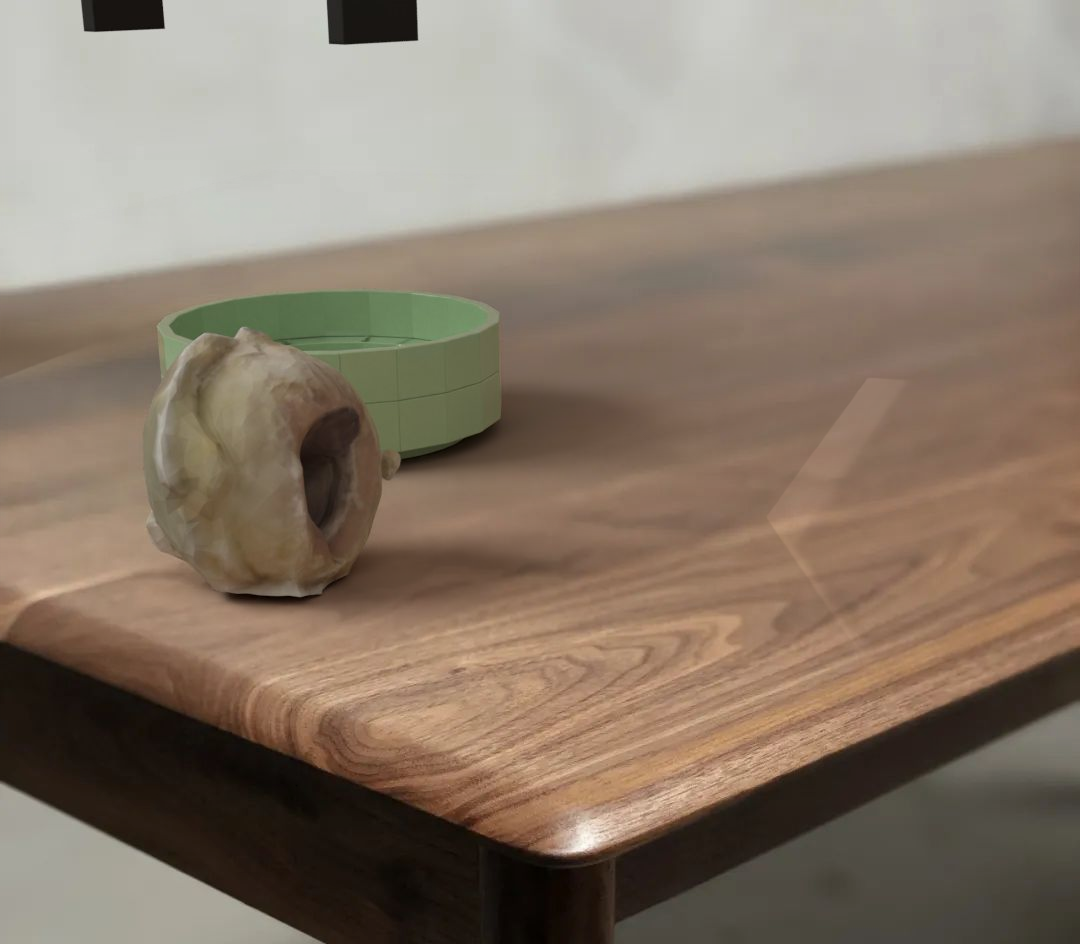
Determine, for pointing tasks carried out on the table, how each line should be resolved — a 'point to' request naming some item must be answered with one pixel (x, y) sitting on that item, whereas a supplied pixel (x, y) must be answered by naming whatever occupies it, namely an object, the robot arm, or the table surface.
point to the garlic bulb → (261, 466)
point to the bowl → (376, 353)
